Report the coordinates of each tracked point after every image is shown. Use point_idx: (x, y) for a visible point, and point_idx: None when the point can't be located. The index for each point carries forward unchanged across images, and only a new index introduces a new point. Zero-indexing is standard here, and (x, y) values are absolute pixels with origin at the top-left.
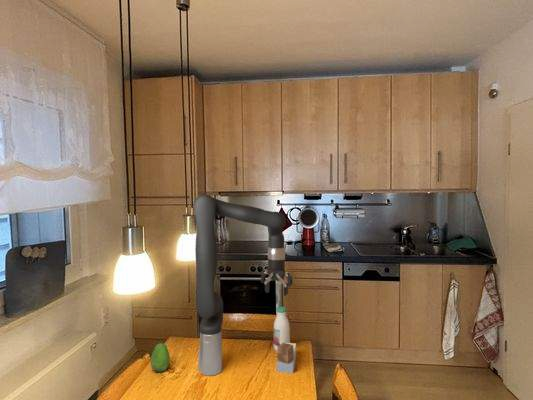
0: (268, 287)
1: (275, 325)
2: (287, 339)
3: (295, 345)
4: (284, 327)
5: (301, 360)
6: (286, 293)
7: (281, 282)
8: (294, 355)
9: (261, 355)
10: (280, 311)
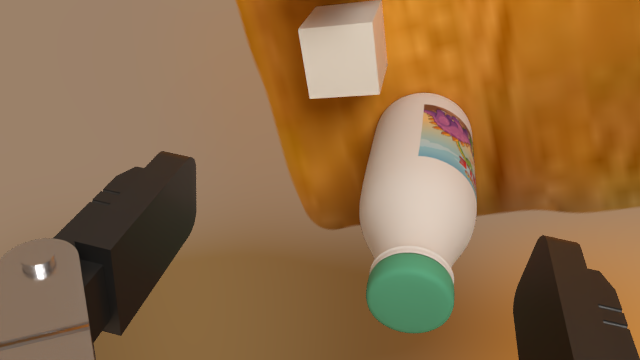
0: (536, 347)
1: (456, 184)
2: (375, 142)
3: (305, 72)
4: (383, 173)
5: (284, 29)
6: (124, 176)
7: (67, 332)
8: (310, 16)
9: (537, 30)
10: (408, 259)
